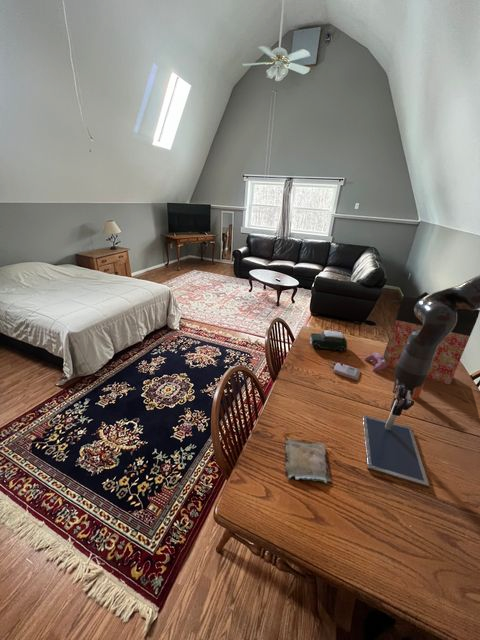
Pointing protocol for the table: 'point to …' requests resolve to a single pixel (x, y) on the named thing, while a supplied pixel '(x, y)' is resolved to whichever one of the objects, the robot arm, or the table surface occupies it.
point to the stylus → (391, 419)
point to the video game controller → (377, 361)
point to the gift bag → (446, 351)
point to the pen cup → (417, 392)
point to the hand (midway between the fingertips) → (395, 411)
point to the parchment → (306, 461)
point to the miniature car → (329, 340)
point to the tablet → (393, 451)
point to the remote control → (346, 370)
